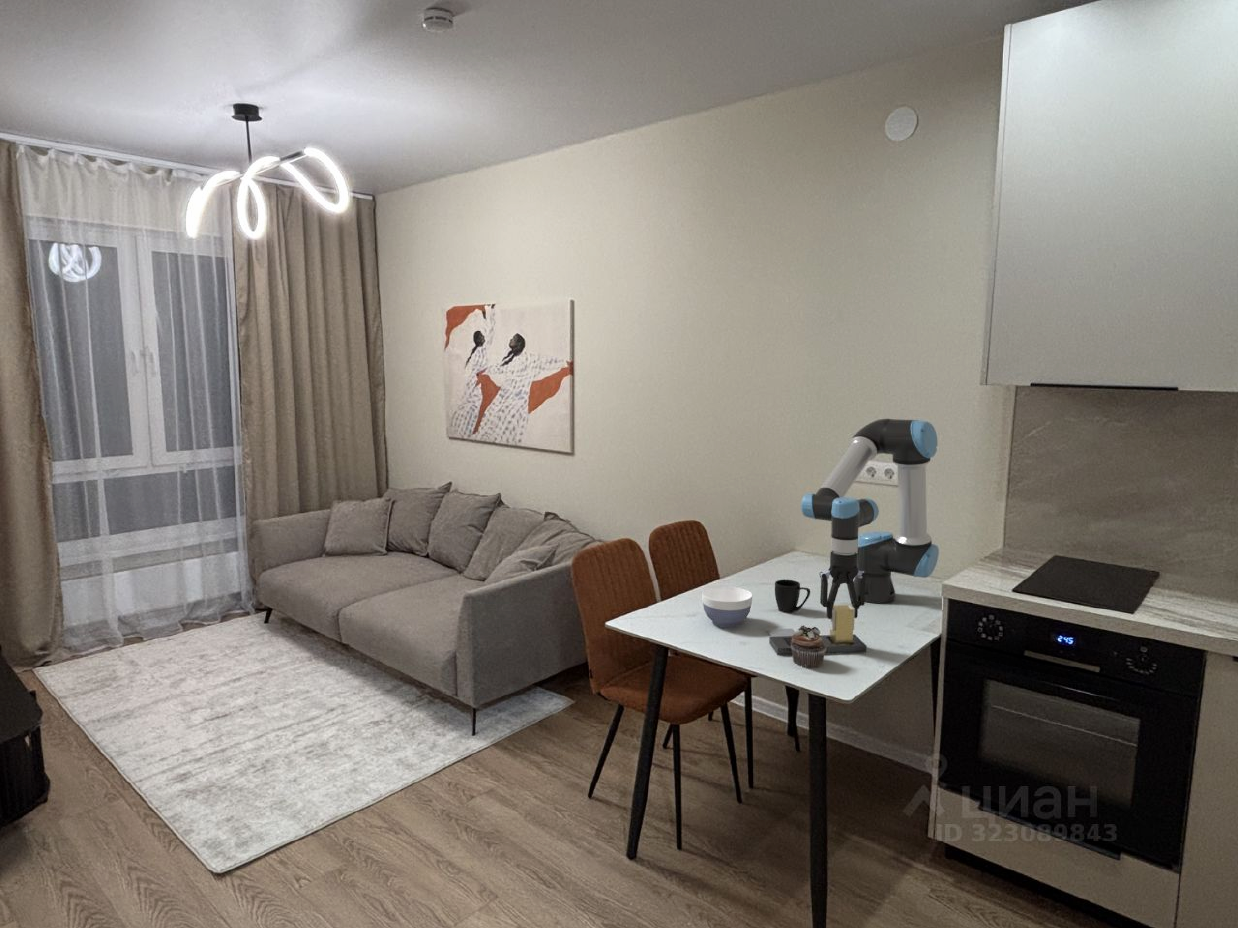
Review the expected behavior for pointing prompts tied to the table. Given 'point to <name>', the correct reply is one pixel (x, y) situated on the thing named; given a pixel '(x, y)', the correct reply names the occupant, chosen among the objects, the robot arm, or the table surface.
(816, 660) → the cupcake
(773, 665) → the table surface
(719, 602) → the bowl
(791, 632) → the pad
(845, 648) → the dark grey peg board
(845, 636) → the tan wooden peg
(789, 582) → the mug
